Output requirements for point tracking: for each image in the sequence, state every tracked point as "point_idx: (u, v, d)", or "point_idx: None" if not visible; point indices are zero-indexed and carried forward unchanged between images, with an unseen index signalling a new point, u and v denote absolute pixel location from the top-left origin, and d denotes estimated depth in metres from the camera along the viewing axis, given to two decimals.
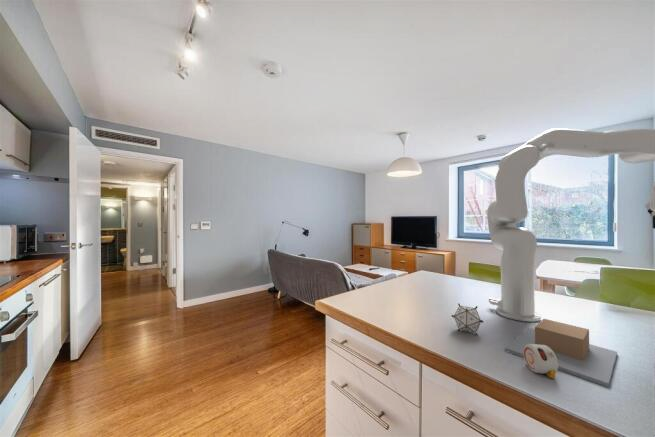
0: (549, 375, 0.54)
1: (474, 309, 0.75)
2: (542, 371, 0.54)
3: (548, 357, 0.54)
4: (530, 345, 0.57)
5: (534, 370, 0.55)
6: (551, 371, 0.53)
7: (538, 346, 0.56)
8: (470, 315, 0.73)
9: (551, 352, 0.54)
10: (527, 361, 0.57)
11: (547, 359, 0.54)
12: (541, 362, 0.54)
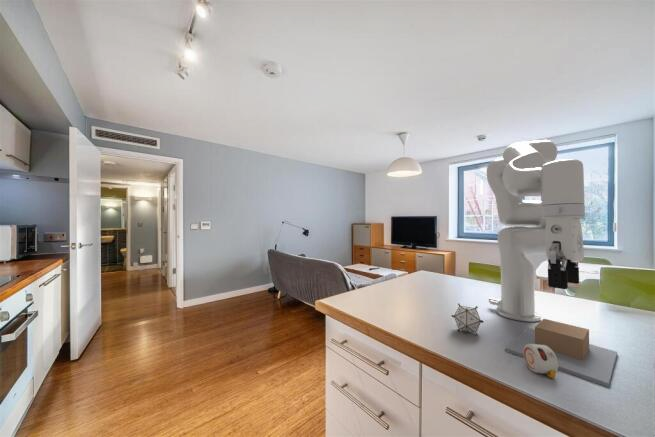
0: (549, 375, 0.54)
1: (474, 309, 0.75)
2: (542, 371, 0.54)
3: (548, 357, 0.54)
4: (530, 345, 0.57)
5: (534, 370, 0.55)
6: (551, 371, 0.53)
7: (538, 346, 0.56)
8: (470, 315, 0.73)
9: (551, 352, 0.54)
10: (527, 361, 0.57)
11: (547, 359, 0.54)
12: (541, 362, 0.54)
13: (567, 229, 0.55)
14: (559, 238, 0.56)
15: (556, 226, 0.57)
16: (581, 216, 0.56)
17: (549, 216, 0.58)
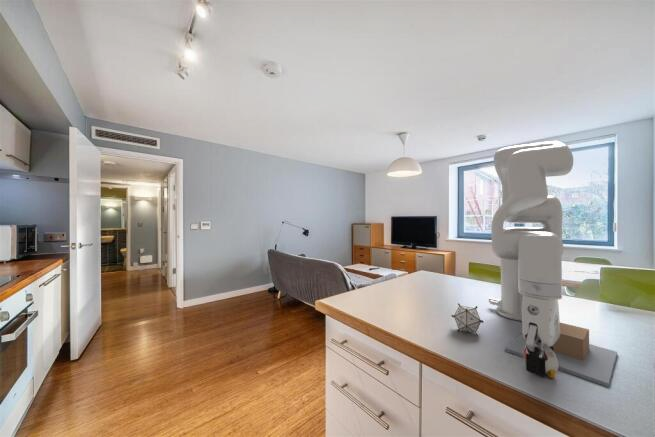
0: (549, 375, 0.54)
1: (474, 309, 0.75)
2: None
3: (548, 356, 0.54)
4: None
5: None
6: (551, 370, 0.53)
7: (538, 346, 0.56)
8: (470, 315, 0.73)
9: (551, 351, 0.54)
10: None
11: (547, 359, 0.54)
12: None
13: (544, 312, 0.52)
14: (536, 320, 0.53)
15: (533, 306, 0.54)
16: (558, 297, 0.53)
17: (526, 293, 0.55)
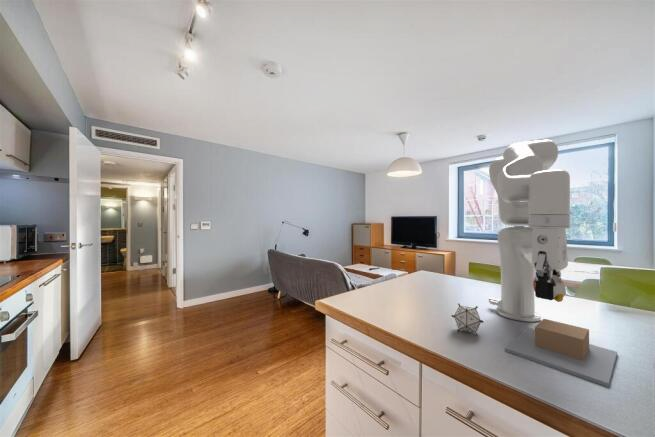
0: (557, 299, 0.58)
1: (474, 309, 0.75)
2: None
3: (556, 282, 0.58)
4: None
5: None
6: (558, 295, 0.58)
7: None
8: (470, 315, 0.73)
9: (559, 278, 0.59)
10: None
11: (555, 284, 0.58)
12: None
13: (553, 240, 0.56)
14: (545, 248, 0.57)
15: (542, 236, 0.58)
16: (566, 227, 0.57)
17: (536, 226, 0.60)
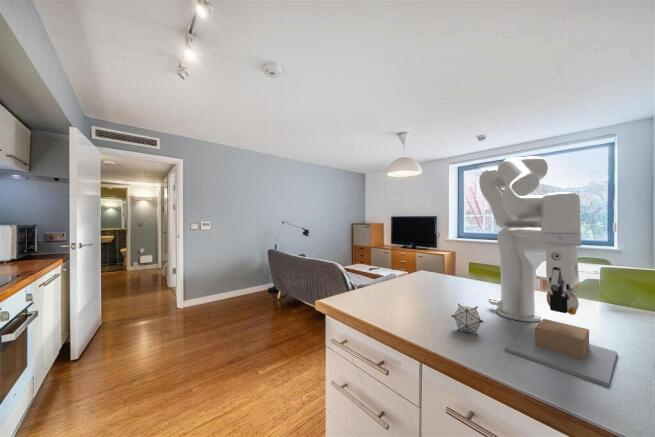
0: (571, 312, 0.62)
1: (474, 309, 0.75)
2: None
3: (569, 296, 0.63)
4: None
5: None
6: (572, 308, 0.62)
7: None
8: (470, 315, 0.73)
9: (572, 293, 0.63)
10: None
11: (569, 298, 0.62)
12: None
13: (566, 257, 0.61)
14: (559, 265, 0.62)
15: (556, 253, 0.63)
16: (578, 245, 0.62)
17: (549, 243, 0.64)
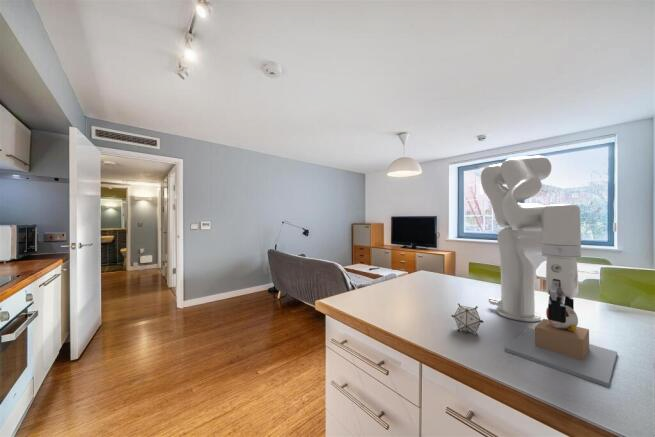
0: (570, 329, 0.63)
1: (474, 309, 0.75)
2: (564, 326, 0.63)
3: (569, 313, 0.63)
4: None
5: (557, 326, 0.64)
6: (572, 325, 0.63)
7: None
8: (470, 315, 0.73)
9: (571, 309, 0.64)
10: (550, 320, 0.67)
11: (568, 315, 0.63)
12: None
13: (566, 269, 0.61)
14: (559, 277, 0.62)
15: (556, 265, 0.63)
16: (578, 257, 0.62)
17: (549, 255, 0.64)
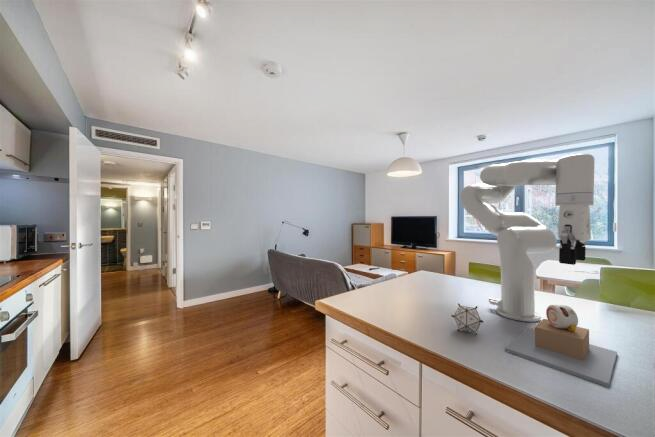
0: (570, 329, 0.63)
1: (474, 309, 0.75)
2: (564, 326, 0.63)
3: (569, 313, 0.63)
4: (553, 305, 0.66)
5: (557, 326, 0.64)
6: (572, 325, 0.63)
7: (560, 306, 0.65)
8: (470, 315, 0.73)
9: (572, 309, 0.64)
10: (550, 320, 0.67)
11: (568, 315, 0.63)
12: (563, 318, 0.63)
13: (578, 214, 0.65)
14: (570, 222, 0.66)
15: (568, 212, 0.67)
16: (590, 203, 0.65)
17: (562, 203, 0.68)
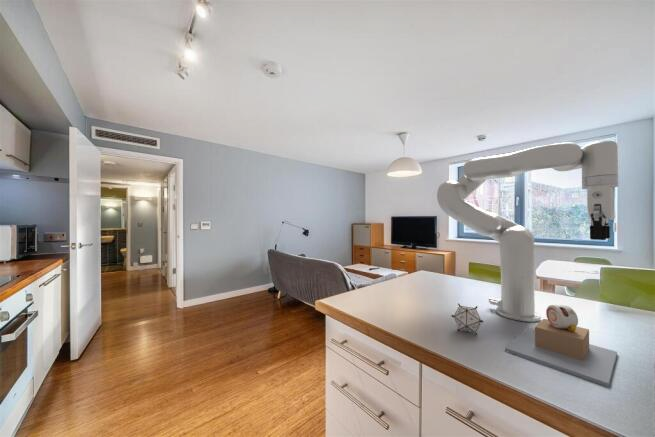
0: (570, 329, 0.63)
1: (474, 309, 0.75)
2: (564, 326, 0.63)
3: (569, 313, 0.63)
4: (553, 305, 0.66)
5: (557, 326, 0.64)
6: (572, 325, 0.63)
7: (560, 306, 0.65)
8: (470, 315, 0.73)
9: (572, 309, 0.64)
10: (550, 320, 0.67)
11: (568, 315, 0.63)
12: (563, 318, 0.63)
13: (606, 194, 0.72)
14: (600, 201, 0.73)
15: (596, 193, 0.74)
16: (616, 184, 0.73)
17: (590, 185, 0.75)
